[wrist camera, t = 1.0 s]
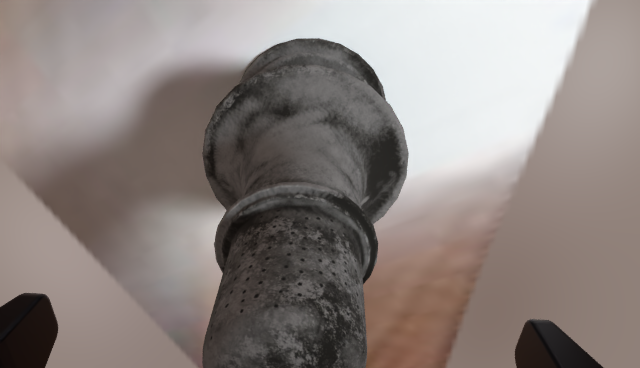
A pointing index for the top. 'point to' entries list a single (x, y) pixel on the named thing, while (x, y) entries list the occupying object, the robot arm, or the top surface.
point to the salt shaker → (299, 206)
